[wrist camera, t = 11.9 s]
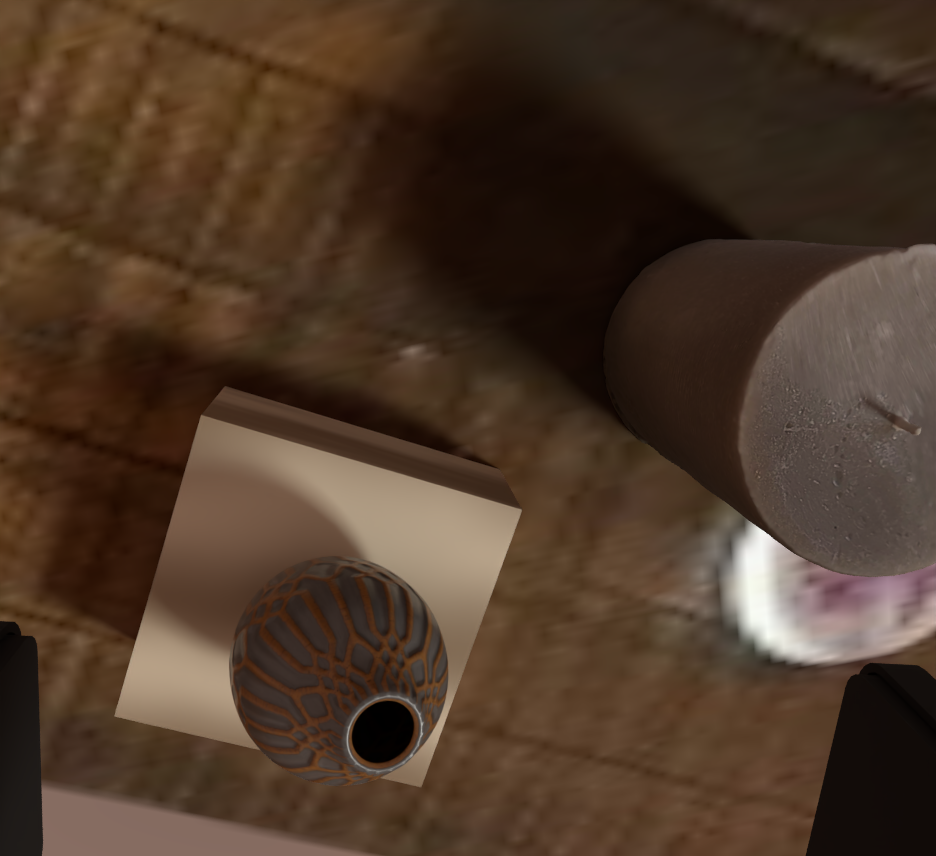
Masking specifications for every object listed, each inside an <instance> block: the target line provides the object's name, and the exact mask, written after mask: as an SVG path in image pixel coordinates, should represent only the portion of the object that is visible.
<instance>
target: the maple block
mask: <svg viewBox="0 0 936 856" xmlns="http://www.w3.org/2000/svg"><path fill="white" fill-rule="evenodd" d="M521 511H522V509H521V507H520V505H519V503H518V502H517V500H516V498H515V496H514V494H513V492H512V491H511V489H510V487H509V485H508V483H507V482H506V480H505V478H504V476H503V474H502V472H501V471H500V469H497V468H494V467H490V466H487V465H484V464H480V463H477V462H474V461H470V460H467V459H464V458H461V457H457V456H454V455H451V454H447V453H444V452H441V451H437V450H434V449H431V448H428V447H424V446H421V445H418V444H414V443H411V442H408V441H405V440H401V439H398V438H395V437H391V436H388V435H385V434H381V433H378V432H375V431H372V430H368V429H365V428H362V427H358V426H355V425H352V424H348V423H345V422H342V421H339V420H335V419H332V418H329V417H325V416H322V415H319V414H316V413H312V412H309V411H306V410H302V409H299V408H296V407H292V406H289V405H286V404H283V403H279V402H276V401H273V400H269V399H266V398H263V397H260V396H256V395H253V394H250V393H246V392H243V391H240V390H236V389H233V388H230V387H227V386H225V387H224V388H223V389H222V390H221V392H220V393H219V394H218V395H217V396H216V398H215V399H214V400H213V401H212V402H211V404H210V405H209V406H208V407H207V408H206V410H205V411H204V412H203V413H202V414H201V417H200V421H199V424H198V427H197V431H196V434H195V438H194V441H193V445H192V448H191V452H190V455H189V459H188V462H187V466H186V469H185V473H184V476H183V480H182V483H181V487H180V490H179V493H178V497H177V500H176V504H175V507H174V511H173V514H172V518H171V521H170V525H169V528H168V532H167V535H166V539H165V542H164V546H163V549H162V553H161V556H160V560H159V563H158V566H157V570H156V573H155V577H154V580H153V584H152V587H151V591H150V594H149V598H148V601H147V605H146V608H145V612H144V615H143V619H142V622H141V626H140V629H139V633H138V636H137V639H136V643H135V646H134V650H133V653H132V657H131V660H130V664H129V667H128V671H127V674H126V678H125V681H124V685H123V688H122V692H121V695H120V699H119V702H118V706H117V709H116V712H115V717H119V718H124V719H128V720H132V721H137V722H141V723H145V724H150V725H154V726H158V727H163V728H167V729H171V730H176V731H180V732H184V733H189V734H193V735H197V736H202V737H206V738H210V739H215V740H219V741H223V742H228V743H232V744H236V745H241V746H245V747H249V748H254V749H258V750H260V749H259V748H258V747H257V745H256V744H255V743H254V742H253V740H252V739H251V738H250V736H249V735H248V733H247V732H246V730H245V728H244V726H243V724H242V722H241V720H240V718H239V715H238V713H237V710H236V707H235V704H234V700H233V696H232V692H231V686H230V676H229V657H230V650H231V645H232V641H233V637H234V634H235V630H236V627H237V625H238V622H239V620H240V618H241V616H242V614H243V612H244V611H245V609H246V607H247V606H248V604H249V603H250V601H251V600H252V599H253V597H254V596H255V595H256V594H257V592H258V591H259V590H260V589H261V588H262V587H263V586H264V585H265V584H266V583H267V582H269V581H270V580H271V579H272V578H274V577H275V576H276V575H278V574H279V573H281V572H282V571H284V570H286V569H288V568H290V567H292V566H294V565H296V564H299V563H301V562H304V561H307V560H311V559H315V558H320V557H328V556H346V557H353V558H359V559H364V560H367V561H371V562H373V563H376V564H378V565H380V566H382V567H384V568H386V569H388V570H390V571H392V572H393V573H395V574H396V575H398V576H399V577H400V578H402V579H403V580H404V581H406V582H407V583H408V584H409V585H410V586H411V587H413V588H414V589H415V590H416V592H417V593H418V594H419V595H420V596H421V597H422V598H423V599H424V601H425V602H426V603H427V605H428V606H429V608H430V609H431V611H432V613H433V615H434V617H435V619H436V620H437V623H438V625H439V627H440V630H441V633H442V636H443V639H444V643H445V647H446V652H447V659H448V688H447V694H446V699H445V704H444V707H443V710H442V713H441V716H440V718H439V720H438V722H437V724H436V726H435V728H434V730H433V732H432V733H431V735H430V737H429V738H428V740H427V741H426V742H425V744H424V745H423V746H422V747H421V748H420V750H419V751H418V752H417V753H416V754H415V755H414V756H413V757H412V758H411V759H410V760H409V761H408V762H407V763H406V764H404V765H403V766H402V767H400V768H398V769H396V770H394V771H393V772H391V773H389V774H387V775H385V776H383V777H380V778H383V779H388V780H392V781H396V782H401V783H405V784H409V785H414V786H418V787H421V786H422V784H423V781H424V778H425V775H426V773H427V770H428V767H429V764H430V762H431V759H432V756H433V753H434V751H435V748H436V745H437V742H438V740H439V737H440V734H441V731H442V729H443V726H444V723H445V720H446V718H447V715H448V712H449V709H450V707H451V704H452V701H453V698H454V696H455V693H456V690H457V687H458V685H459V682H460V679H461V676H462V674H463V671H464V668H465V665H466V663H467V660H468V657H469V654H470V652H471V649H472V646H473V643H474V641H475V638H476V635H477V632H478V630H479V627H480V624H481V621H482V619H483V616H484V613H485V610H486V608H487V605H488V602H489V599H490V597H491V594H492V591H493V588H494V586H495V583H496V580H497V577H498V575H499V572H500V569H501V566H502V564H503V561H504V558H505V555H506V553H507V550H508V547H509V544H510V542H511V539H512V536H513V533H514V531H515V528H516V525H517V522H518V520H519V517H520V514H521Z"/></svg>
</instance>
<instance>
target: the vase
mask: <svg viewBox="0 0 936 856" xmlns="http://www.w3.org/2000/svg"><path fill="white" fill-rule="evenodd" d="M229 676H230V686H231V692H232V696H233V700H234V704H235V707H236V710H237V713H238V715H239V718H240V720H241V722H242V724H243V726H244V728H245V730H246V732H247V733H248V735H249V736H250V738H251V739H252V740H253V742H254V743H255V744H256V745H257V747H258V748H259V749H260V750H261V751H262V752H263V753H264V754H265V755H266V756H267V757H268V758H270V759H271V760H272V761H273V762H274V763H276V764H277V765H278V766H280V767H282V768H283V769H285V770H286V771H288V772H290V773H292V774H294V775H296V776H298V777H300V778H303V779H305V780H308V781H311V782H314V783H319V784H325V785H333V786H348V785H356V784H361V783H365V782H369V781H372V780H375V779H378V778H380V777H383V776H385V775H387V774H389V773H391V772H393V771H394V770H396V769H398V768H400V767H402V766H403V765H404V764H406V763H407V762H408V761H409V760H410V759H411V758H412V757H413V756H414V755H415V754H416V753H417V752H418V751H419V750H420V748H421V747H422V746H423V745H424V744H425V742H426V741H427V740H428V738H429V737H430V735H431V733H432V732H433V730H434V728H435V726H436V724H437V722H438V720H439V718H440V716H441V713H442V710H443V707H444V704H445V699H446V694H447V688H448V659H447V652H446V647H445V643H444V639H443V636H442V633H441V630H440V627H439V625H438V623H437V620H436V619H435V617H434V615H433V613H432V611H431V609H430V608H429V606H428V605H427V603H426V602H425V601H424V599H423V598H422V597H421V596H420V595H419V594H418V593H417V592H416V590H415V589H414V588H413V587H411V586H410V585H409V584H408V583H407V582H406V581H404V580H403V579H402V578H400V577H399V576H398V575H396V574H395V573H393V572H392V571H390V570H388V569H386V568H384V567H382V566H380V565H378V564H376V563H373V562H371V561H367V560H364V559H359V558H353V557H346V556H328V557H320V558H315V559H311V560H307V561H304V562H301V563H299V564H296V565H294V566H292V567H290V568H288V569H286V570H284V571H282V572H281V573H279V574H278V575H276V576H275V577H274V578H272V579H271V580H270V581H269V582H267V583H266V584H265V585H264V586H263V587H262V588H261V589H260V590H259V591H258V592H257V594H256V595H255V596H254V597H253V599H252V600H251V601H250V603H249V604H248V606H247V607H246V609H245V611H244V612H243V614H242V616H241V618H240V620H239V622H238V625H237V627H236V630H235V634H234V637H233V641H232V645H231V650H230V657H229Z"/></svg>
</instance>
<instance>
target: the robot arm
mask: <svg viewBox="0 0 936 856" xmlns="http://www.w3.org/2000/svg"><path fill="white" fill-rule="evenodd" d="M42 830H43V829H42V794H41V758H40V722H39V687H38V652H37V643H36V640H35V638H34V637H33V636H21V631H20V628H19V626H18V625H17V624H16V623H15V622H6V621H0V856H42V850H43V849H42V848H43V831H42ZM806 856H936V680H935V679H934V678H933V677H932V676H931V675H930V674H929V673H928V672H927V671H926V670H924V669H923V668H921V667H920V666H917V665H902V664H881V663H869V664H867V665H865V666H864V667H863V669H862V670H861V671H860V673H859V675H857V674H855V675H853V676H851V677H850V679H849V680H848V682H847V685H846V687H845V692H844V696H843V700H842V704H841V709H840V713H839V717H838V721H837V726H836V730H835V734H834V738H833V743H832V747H831V751H830V755H829V759H828V764H827V768H826V772H825V776H824V781H823V785H822V789H821V793H820V798H819V802H818V806H817V810H816V814H815V819H814V823H813V827H812V831H811V836H810V840H809V844H808V848H807V853H806Z"/></svg>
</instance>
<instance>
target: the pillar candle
mask: <svg viewBox="0 0 936 856" xmlns="http://www.w3.org/2000/svg"><path fill="white" fill-rule="evenodd" d="M604 343H605V345H604V348H603V368H604V369H603V371H604V374H605V376H606V377H607V379H606V380H605V382H606V387H607V390H608V394H609V396H610V398H611V401H612V404H613V406H614V408H615V410H616V411H617V413H618V415H619V417H620V418H621V419H622V421H623V423H624V424H625V425H626V427H627V428H628V429H629V430H630V431H631V432H632V433H633V434H634V435H635V436H636V437H637V438H638V439H639V440H640V441H641V442H642V443H645V444H646V443H647V444H649V445H650V446H651V447H653V448H654V449H655V450H656V451H658V452H659V454H660V455H662V456H664V457H665V458H666V459H668V460H669V461H671V462H672V463H674V464H676V465H677V466H679V467H680V468H681V469H683V470H685V471H686V472H687V473H688V474H690V475H691V476H692V477H693V478H694V479H695V480H697V481H698V482H699V483H700V484H701V485H702V486H703V487H705V488H706V489H707V490H709V491H710V492H712V493H713V494H715V495H716V496H718V497H719V498H721V499H722V500H723V501H725V502H726V503H727V504H729V505H730V506H731V507H733V508H734V509H735V510H736V511H738V512H739V513H740V514H742V515H743V516H744V517H745V518H746V519H748V520H749V521H750V522H752V523H753V524H755V525H756V526H758V527H759V528H760V529H762V530H763V531H765V532H766V533H767V534H769V535H770V536H771V537H772V538H773V539H775V540H776V541H778V542H779V543H780V544H782V545H783V546H784V547H786V548H787V549H788V550H790V551H791V552H793V553H794V554H796V555H798V556H800V557H802V558H804V559H806V560H808V561H810V562H812V563H814V564H817V565H819V566H821V567H823V568H826V569H828V570H831V571H834V572H837V573H841V574H847V575H853V576H865V577H878V576H895V575H900V574H905V573H908V572H912V571H915V570H919V569H923V568H925V567H927V566H930V565H932V564H934V563H936V245H934V244H917V245H914V246H911V247H908V248H907V249H905V248H894V247H864V246H845V245H830V244H818V243H816V244H815V243H803V242H800V241H796V242H793V241H784V240H774V241H773V240H737V239H733V240H723V239H707V240H703V241H699V242H695V243H691V244H688V245H685V246H682V247H680V248H677V249H675V250H673V251H671V252H669V253H667V254H666V255H664V256H662V257H661V258H659V259H658V260H656V261H655V262H653V263H652V264H651V265H648V266H646V267H645V268H644V269H643V270H642V271H641V272H640V274H639V275H638V276H637V277H636V278H635V279H634V281H632V283H631V284H630V285H629V286H628V288H627V289H626V291H625V292H624V294H623V296H622V297H621V298H620V300H619V302H618V304H617V306H616V307H615V309H614V311H613V314H612V316H611V318H610V322H609V325H608V328H607V331H606V334H605V340H604Z"/></svg>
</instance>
